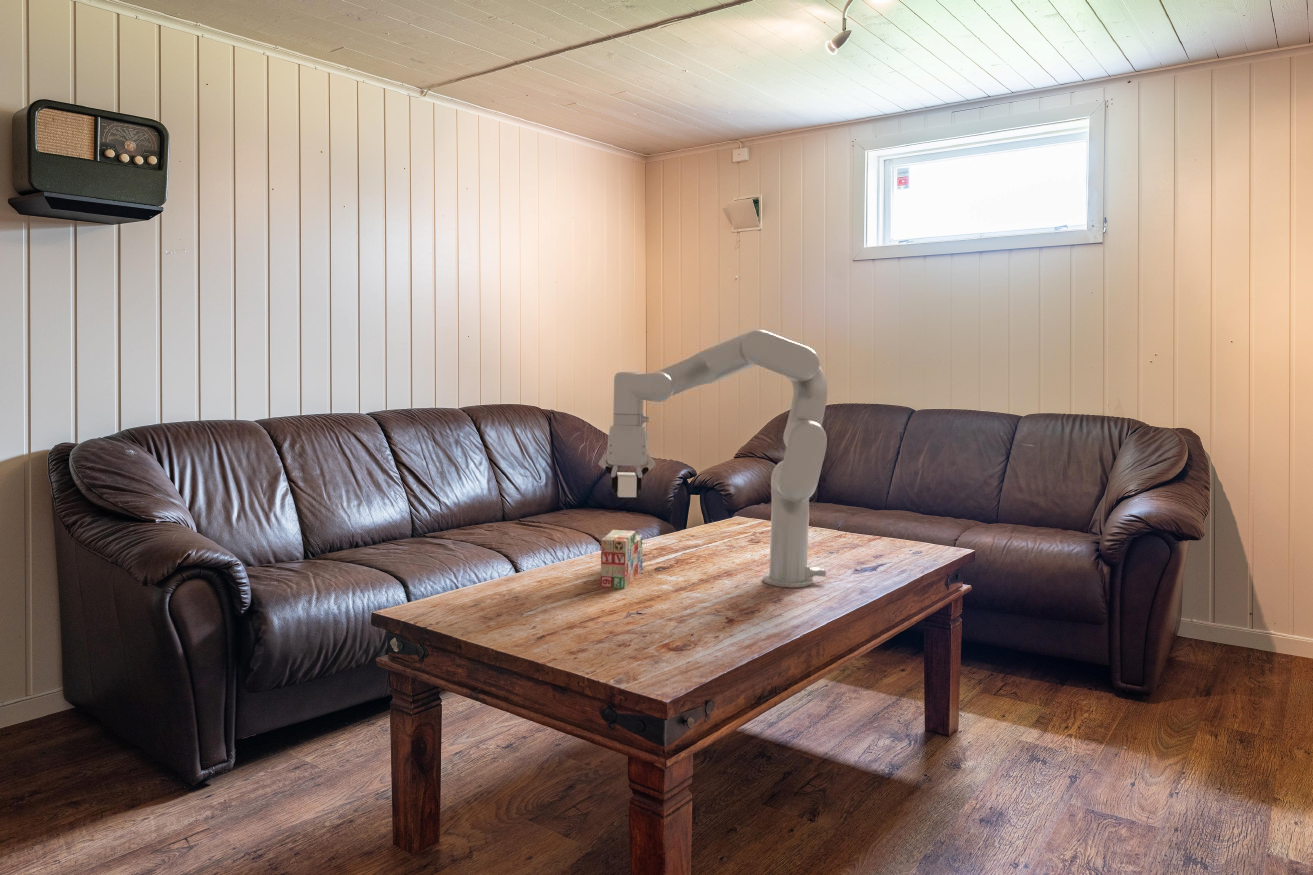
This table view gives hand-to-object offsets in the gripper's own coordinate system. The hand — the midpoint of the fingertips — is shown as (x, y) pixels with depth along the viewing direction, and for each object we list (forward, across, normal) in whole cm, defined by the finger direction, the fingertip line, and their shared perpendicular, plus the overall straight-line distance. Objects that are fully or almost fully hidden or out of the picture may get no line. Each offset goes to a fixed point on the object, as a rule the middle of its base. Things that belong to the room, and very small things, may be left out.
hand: (626, 491), depth 221 cm
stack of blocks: (+23, +1, -1) cm, 23 cm away
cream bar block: (+1, 0, 0) cm, 1 cm away
